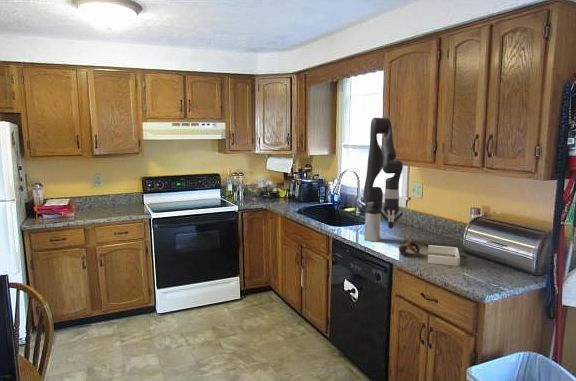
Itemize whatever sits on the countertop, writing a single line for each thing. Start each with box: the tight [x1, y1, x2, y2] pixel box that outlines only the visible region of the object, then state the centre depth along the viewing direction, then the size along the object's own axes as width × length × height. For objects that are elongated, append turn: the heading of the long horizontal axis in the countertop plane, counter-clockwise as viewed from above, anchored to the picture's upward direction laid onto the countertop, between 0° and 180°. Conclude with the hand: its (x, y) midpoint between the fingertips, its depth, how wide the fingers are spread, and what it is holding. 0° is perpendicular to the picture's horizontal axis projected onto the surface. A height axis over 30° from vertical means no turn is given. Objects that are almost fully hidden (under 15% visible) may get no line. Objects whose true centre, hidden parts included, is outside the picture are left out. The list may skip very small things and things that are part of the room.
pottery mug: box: [398, 241, 421, 258], centre depth 218 cm, size 12×10×8 cm
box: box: [427, 244, 461, 267], centre depth 212 cm, size 15×20×4 cm
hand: (390, 228), depth 219 cm, fingers closed
